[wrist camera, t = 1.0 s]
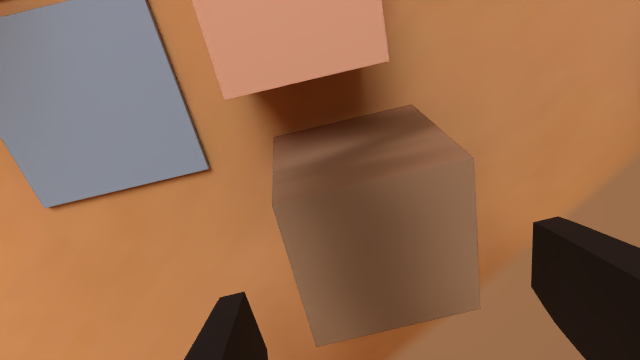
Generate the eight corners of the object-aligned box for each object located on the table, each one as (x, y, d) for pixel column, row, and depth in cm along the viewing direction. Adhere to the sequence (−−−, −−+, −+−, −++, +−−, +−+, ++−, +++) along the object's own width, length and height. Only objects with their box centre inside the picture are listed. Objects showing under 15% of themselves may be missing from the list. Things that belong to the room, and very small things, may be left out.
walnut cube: (410, 103, 14) (474, 157, 10) (424, 220, 16) (480, 308, 12) (273, 136, 14) (271, 205, 10) (305, 248, 16) (316, 347, 12)
